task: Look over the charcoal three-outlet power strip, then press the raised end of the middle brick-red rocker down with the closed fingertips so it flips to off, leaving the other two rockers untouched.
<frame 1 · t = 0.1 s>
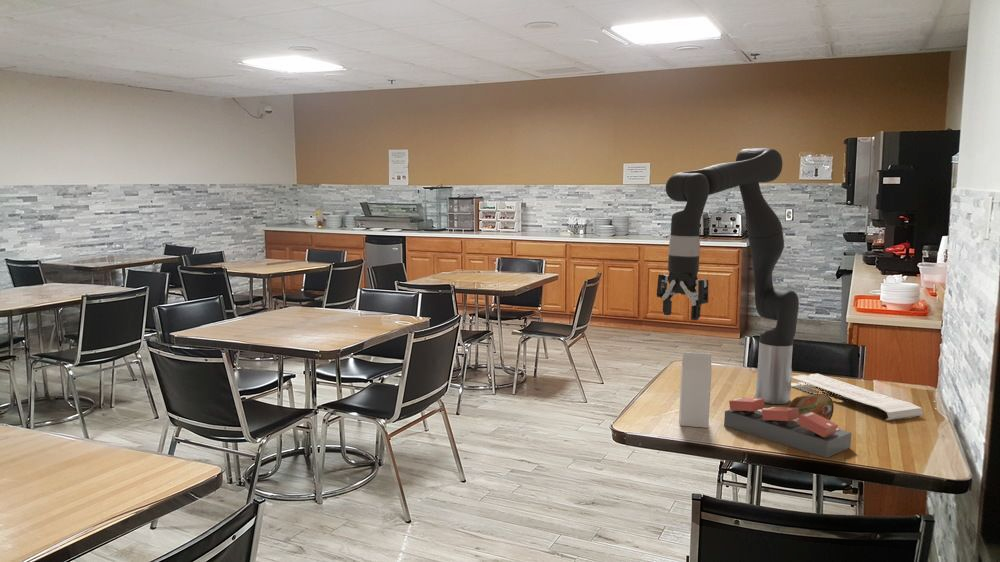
hand: (680, 317, 184), 29 cm above the table, tool pointing down, fingers open, 8 cm apart
milk carton: (693, 423, 193), on the table
tin: (809, 426, 192), on the table
white flat bar: (849, 401, 217), on the table
power strip: (784, 436, 183), on the table
rocker 1: (746, 404, 188), point 6 cm above the table, hinge at 12.0°
rocker 3: (817, 423, 173), point 6 cm above the table, hinge at -12.0°
rocker 2: (780, 413, 181), point 6 cm above the table, hinge at 12.0°
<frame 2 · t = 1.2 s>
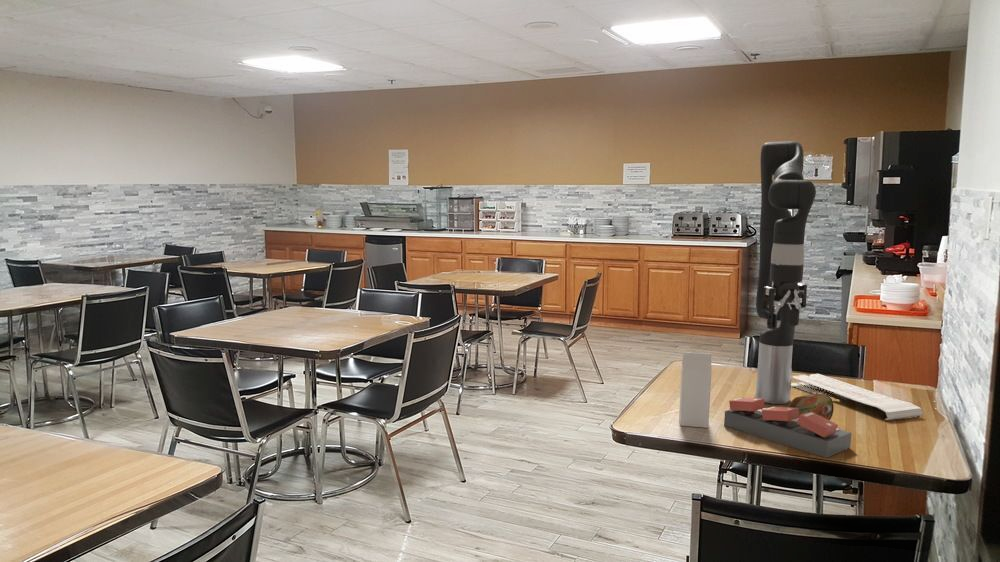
hand: (782, 327, 180), 28 cm above the table, tool pointing down, fingers open, 8 cm apart
nothing on the table moved.
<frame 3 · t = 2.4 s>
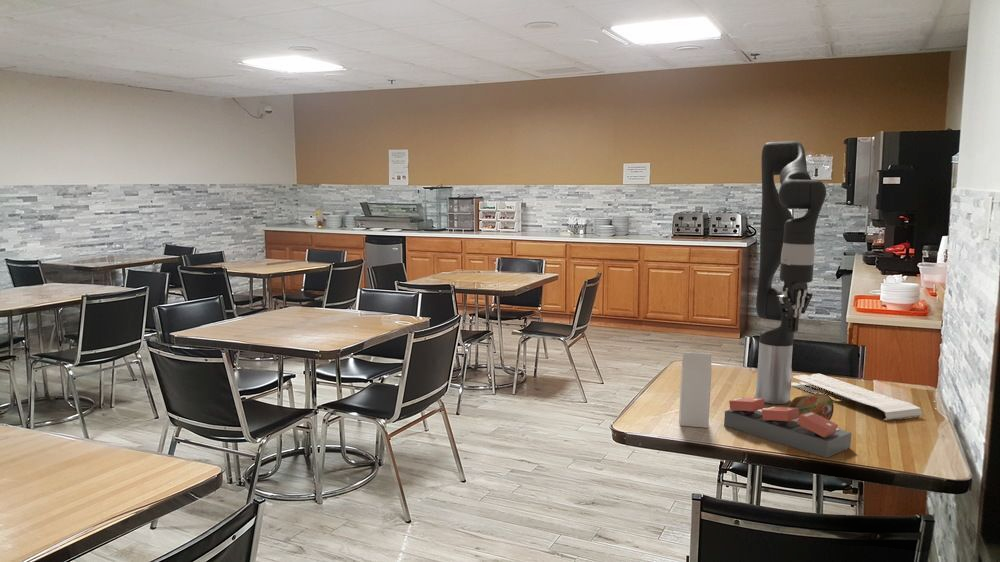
hand: (792, 331, 180), 27 cm above the table, tool pointing down, fingers closed
nothing on the table moved.
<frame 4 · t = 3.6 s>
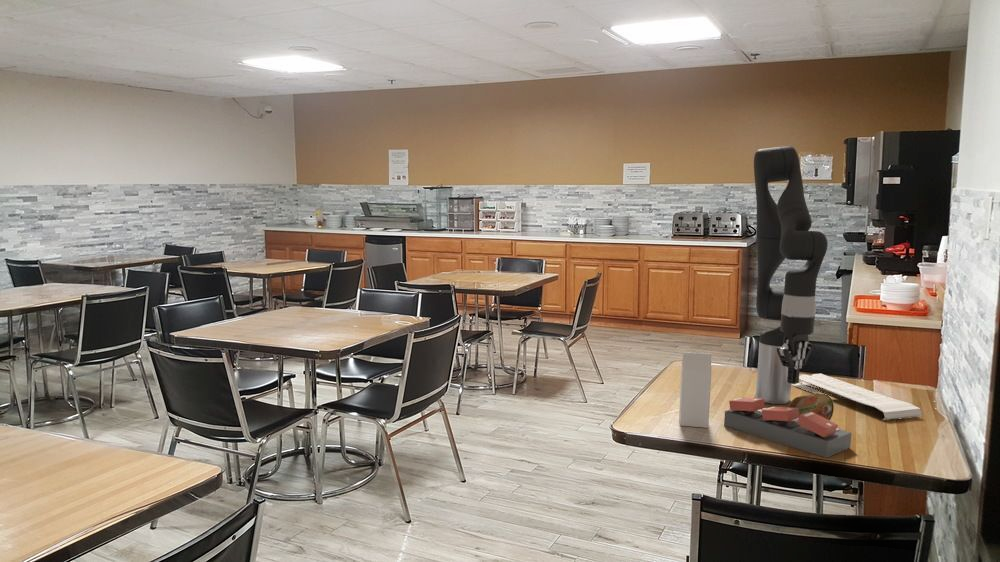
hand: (792, 383, 178), 15 cm above the table, tool pointing down, fingers closed
nothing on the table moved.
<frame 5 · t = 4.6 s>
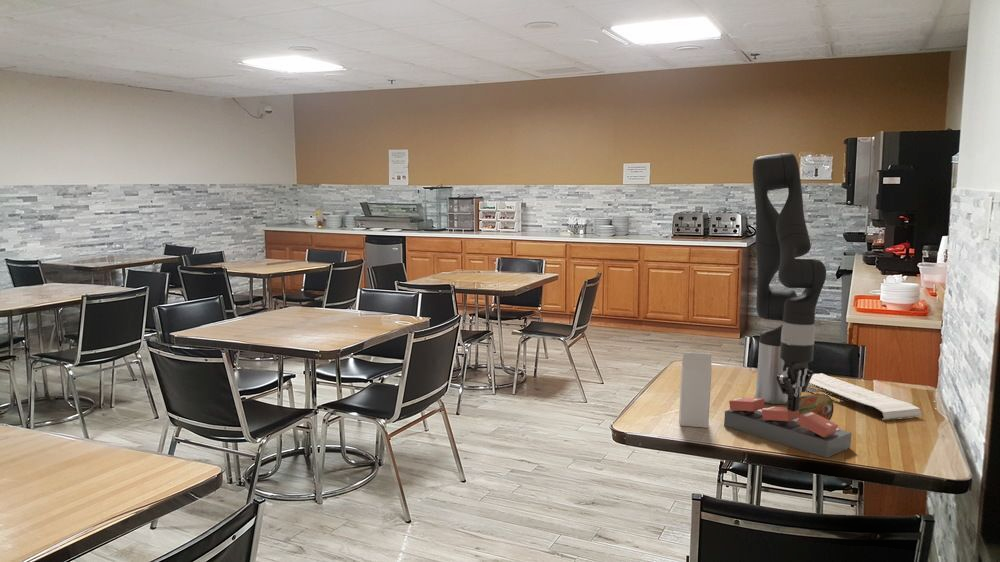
hand: (792, 410, 178), 8 cm above the table, tool pointing down, fingers closed
rocker 2: (780, 413, 181), point 6 cm above the table, hinge at 11.5°, touching gripper
everything else where it was.
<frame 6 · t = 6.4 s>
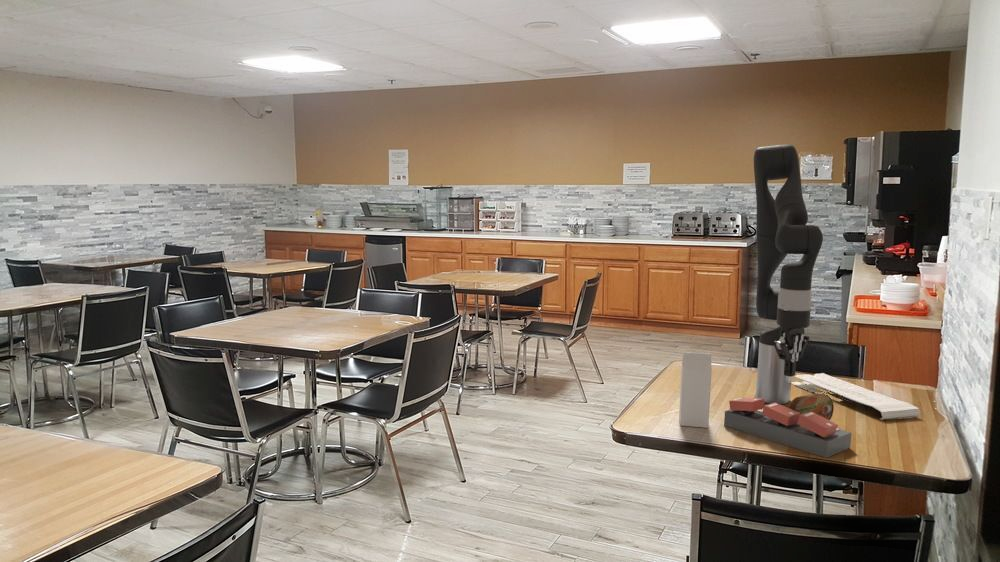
hand: (789, 375, 179), 16 cm above the table, tool pointing down, fingers closed
rocker 2: (780, 413, 181), point 6 cm above the table, hinge at -8.5°
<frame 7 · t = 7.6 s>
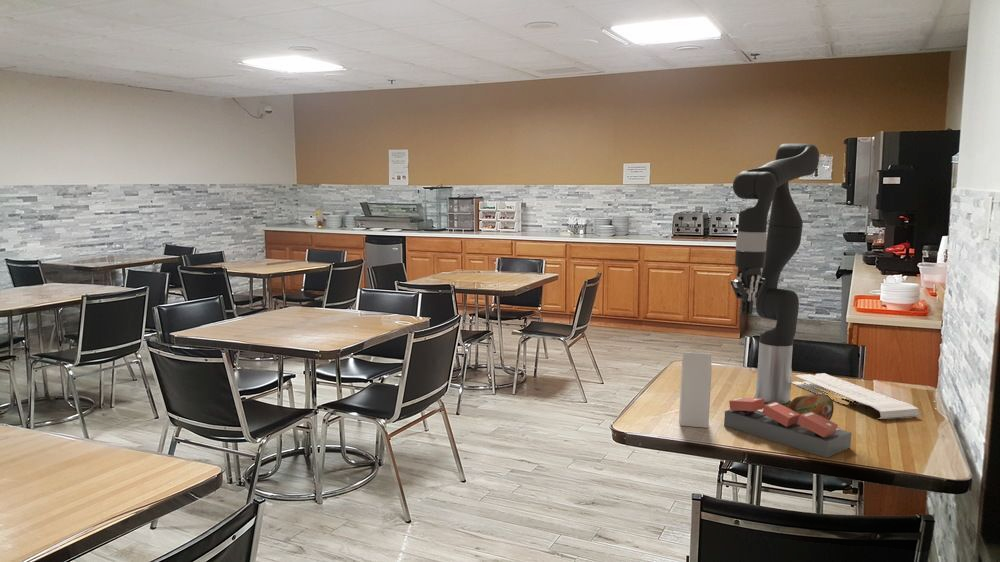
hand: (746, 314, 191), 29 cm above the table, tool pointing down, fingers closed
rocker 2: (781, 413, 181), point 6 cm above the table, hinge at -12.7°
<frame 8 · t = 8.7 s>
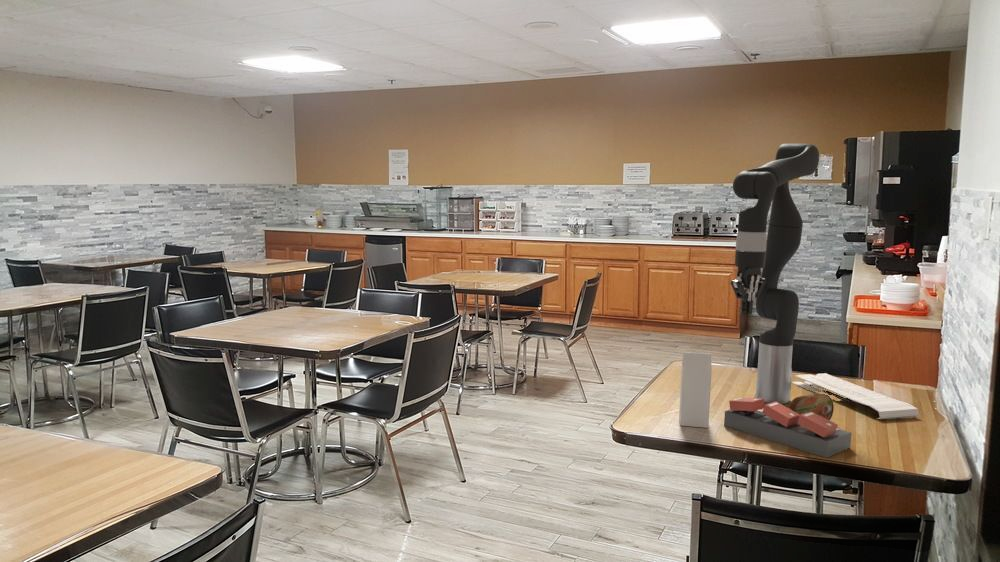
hand: (746, 314, 191), 29 cm above the table, tool pointing down, fingers closed
rocker 2: (781, 413, 181), point 6 cm above the table, hinge at -14.6°
at the end: rocker 2 at -15° (first picture: +12°); rocker 1 at +12° (first picture: +12°); rocker 3 at -12° (first picture: -12°) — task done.
